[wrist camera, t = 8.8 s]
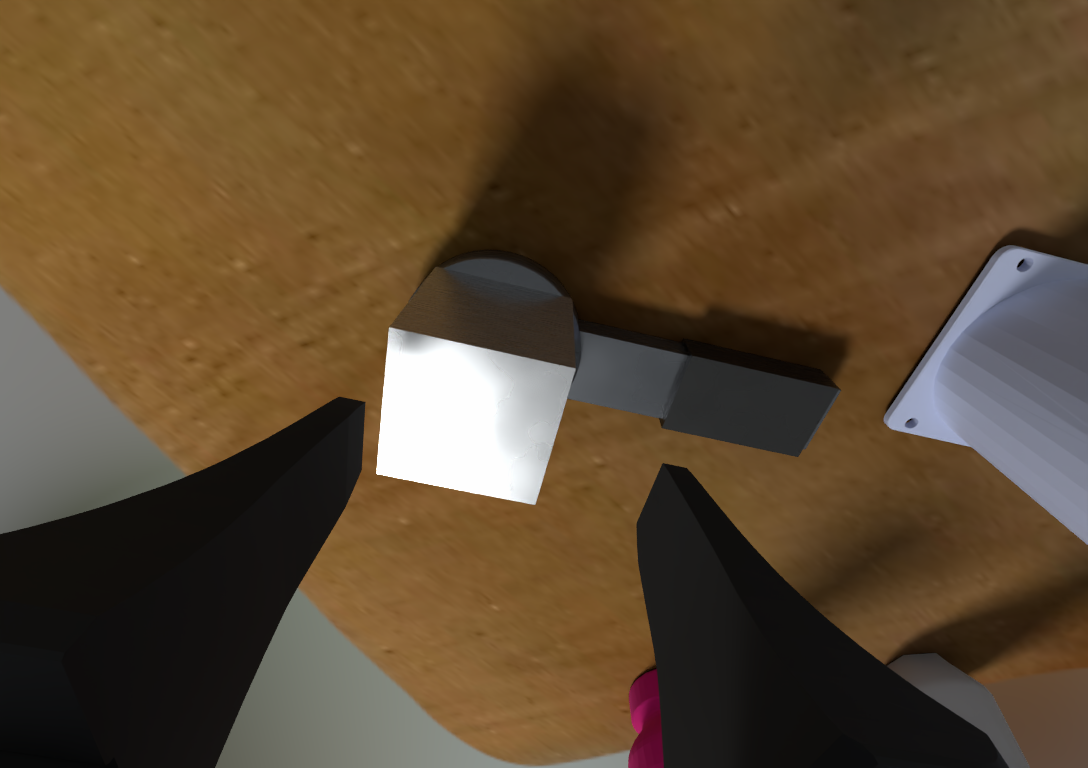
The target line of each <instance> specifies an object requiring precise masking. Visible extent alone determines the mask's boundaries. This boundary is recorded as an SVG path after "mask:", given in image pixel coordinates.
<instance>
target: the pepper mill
mask: <svg viewBox="0 0 1088 768" xmlns="http://www.w3.org/2000/svg"><path fill="white" fill-rule="evenodd" d="M629 703H630V711H631V720H632V724H633V727H634V729H635V730H636V731H637V733H639V735H638V737H637V738H636V740H635V741H634V744H633V746H632V748H631V750H630V754H629V760H628V762H629V763H628V768H664V762H663V745H662V728H661V713H660V701H659V688H658V676H657V669H655V670H652V671H649V672H647V673H645V674H644V675H642V676H641V677H639V678H638V679H637V680H636V681H635V682H634V684H633V685H632V687H631V689H630V692H629Z"/></svg>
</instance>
